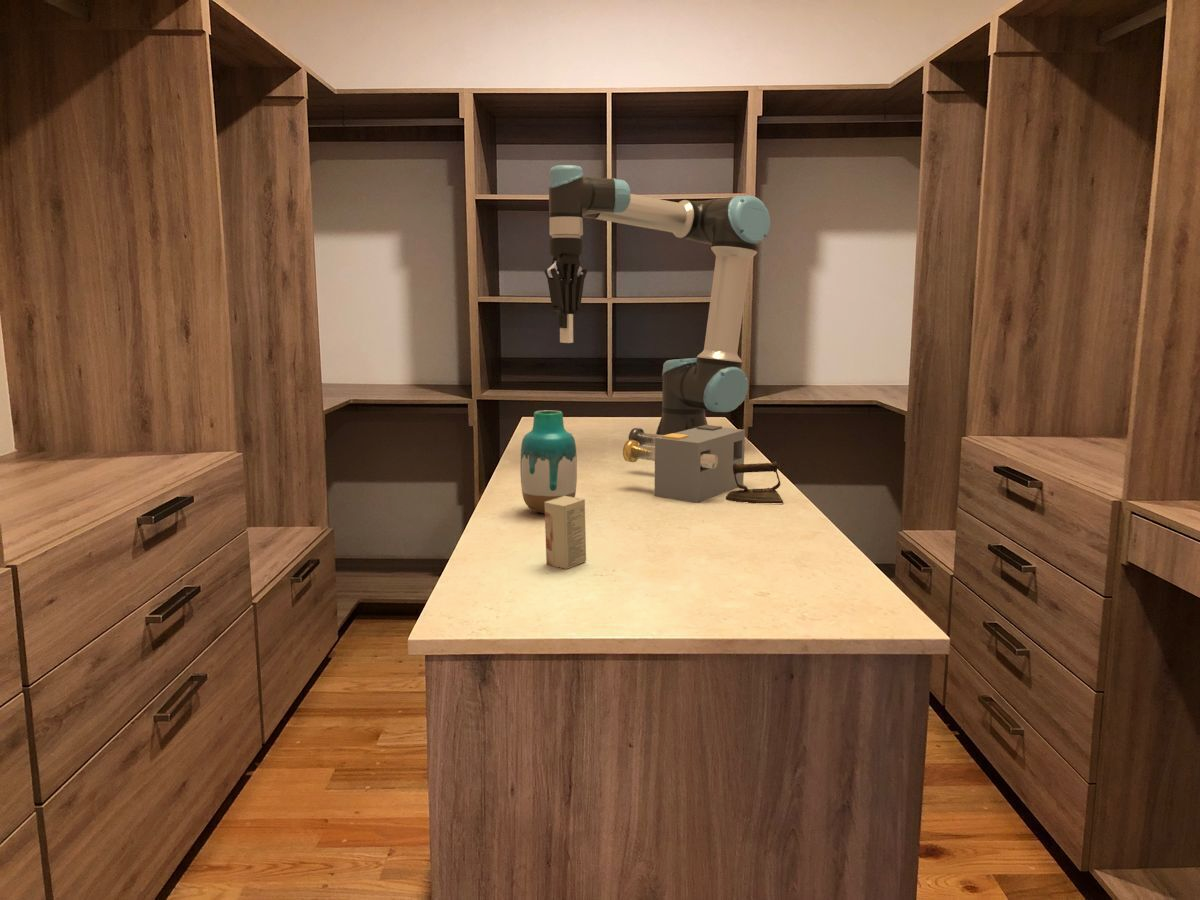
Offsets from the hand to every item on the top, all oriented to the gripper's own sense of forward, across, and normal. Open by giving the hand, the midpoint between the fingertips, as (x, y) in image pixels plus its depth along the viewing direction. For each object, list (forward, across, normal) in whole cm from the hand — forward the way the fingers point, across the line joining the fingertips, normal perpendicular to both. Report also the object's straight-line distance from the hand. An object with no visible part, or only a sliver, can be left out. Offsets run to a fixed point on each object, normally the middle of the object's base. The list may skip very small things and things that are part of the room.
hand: (566, 342), depth 204 cm
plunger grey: (+24, -5, +26) cm, 35 cm away
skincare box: (+30, +58, +45) cm, 79 cm away
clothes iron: (+30, +3, +50) cm, 58 cm away
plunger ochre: (+24, +9, +34) cm, 42 cm away
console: (+29, +2, +37) cm, 47 cm away
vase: (+30, +35, +23) cm, 51 cm away
